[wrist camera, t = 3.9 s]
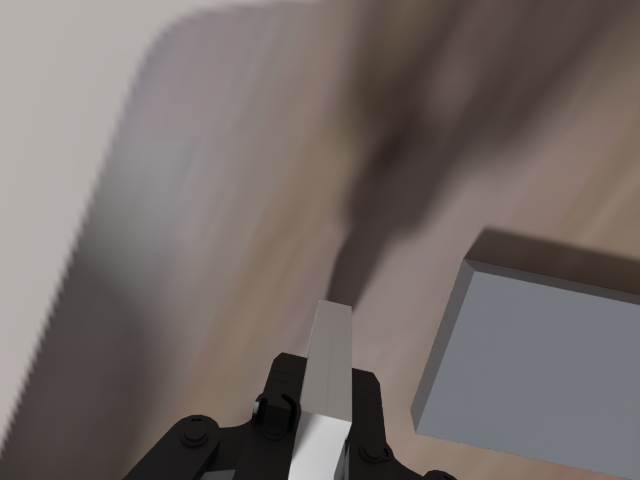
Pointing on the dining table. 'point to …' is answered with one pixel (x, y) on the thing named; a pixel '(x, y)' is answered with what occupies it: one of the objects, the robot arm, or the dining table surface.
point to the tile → (536, 370)
